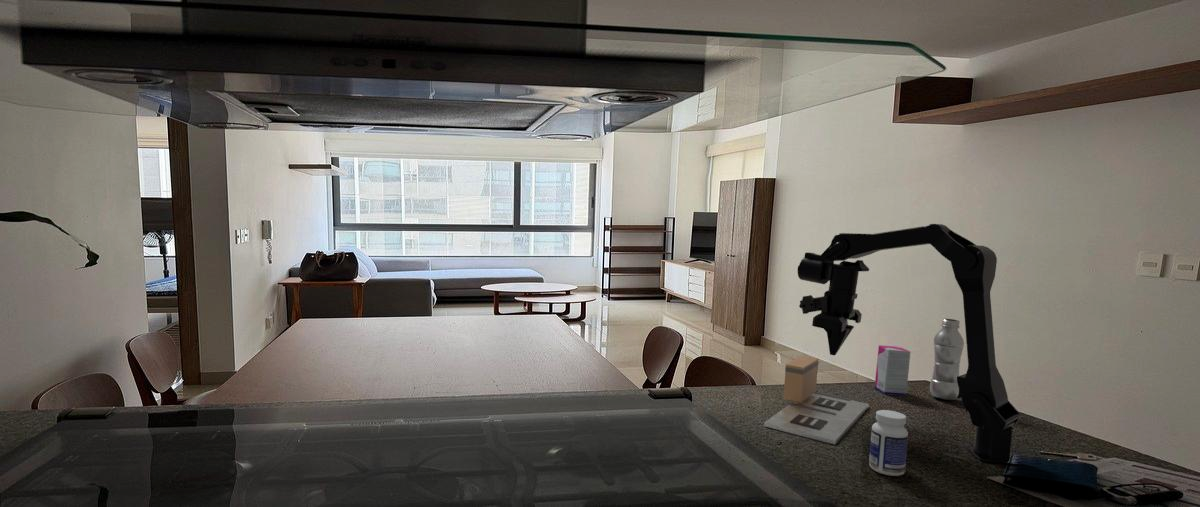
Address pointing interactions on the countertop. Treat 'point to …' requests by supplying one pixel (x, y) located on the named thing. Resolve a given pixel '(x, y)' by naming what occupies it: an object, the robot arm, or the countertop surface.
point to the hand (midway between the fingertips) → (832, 354)
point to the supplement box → (892, 370)
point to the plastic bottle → (947, 360)
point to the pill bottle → (889, 443)
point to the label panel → (818, 417)
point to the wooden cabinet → (800, 378)
